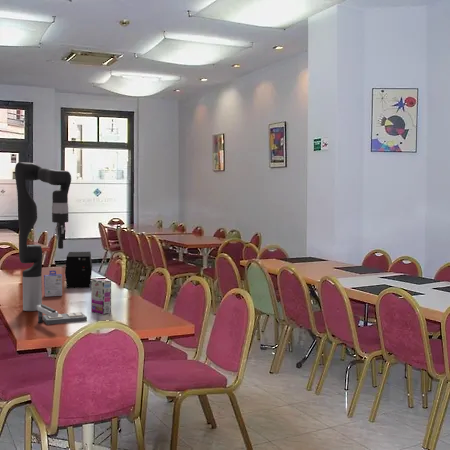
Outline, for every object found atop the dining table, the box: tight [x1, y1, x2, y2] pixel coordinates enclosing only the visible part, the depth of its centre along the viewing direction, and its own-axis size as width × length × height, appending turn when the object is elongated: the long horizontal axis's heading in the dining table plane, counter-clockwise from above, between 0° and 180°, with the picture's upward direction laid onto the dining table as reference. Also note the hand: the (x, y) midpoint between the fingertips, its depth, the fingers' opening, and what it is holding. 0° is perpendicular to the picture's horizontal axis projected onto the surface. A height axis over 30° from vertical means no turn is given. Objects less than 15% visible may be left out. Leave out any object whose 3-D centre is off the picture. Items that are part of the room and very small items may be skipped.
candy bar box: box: [90, 278, 112, 315], centre depth 297 cm, size 11×5×16 cm, turn 45°
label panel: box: [43, 311, 88, 326], centre depth 278 cm, size 12×18×3 cm, turn 116°
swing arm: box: [37, 303, 59, 317], centre depth 266 cm, size 22×3×3 cm, turn 35°
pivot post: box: [37, 310, 44, 324], centre depth 274 cm, size 2×2×6 cm
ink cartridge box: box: [43, 270, 63, 297], centre depth 346 cm, size 10×6×14 cm, turn 114°
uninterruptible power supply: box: [64, 251, 93, 289], centre depth 389 cm, size 16×34×20 cm, turn 12°
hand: (60, 248), depth 285 cm, fingers closed
